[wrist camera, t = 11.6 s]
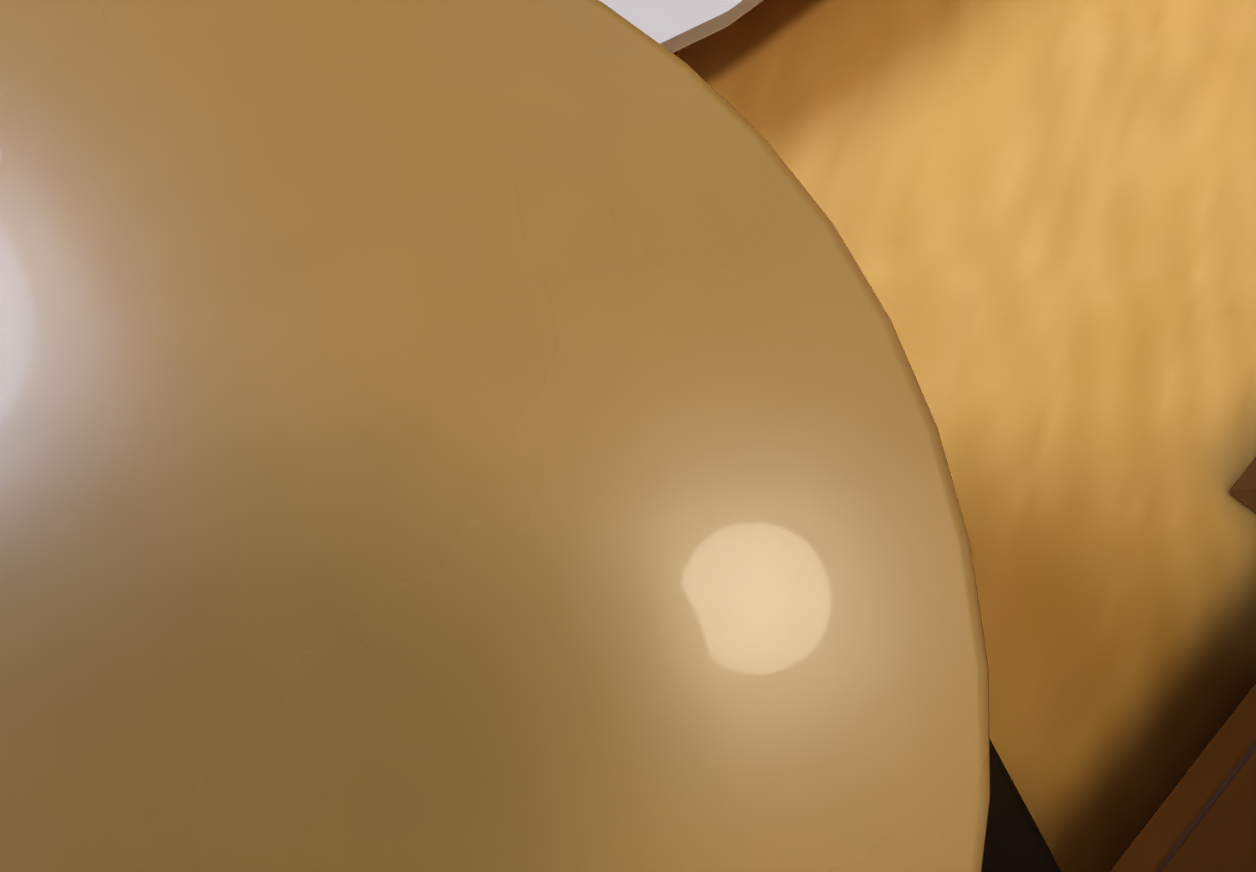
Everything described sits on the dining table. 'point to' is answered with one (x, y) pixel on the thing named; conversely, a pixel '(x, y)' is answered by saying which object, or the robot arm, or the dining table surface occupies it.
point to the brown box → (1246, 487)
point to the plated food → (680, 18)
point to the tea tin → (453, 464)
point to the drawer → (1207, 808)
